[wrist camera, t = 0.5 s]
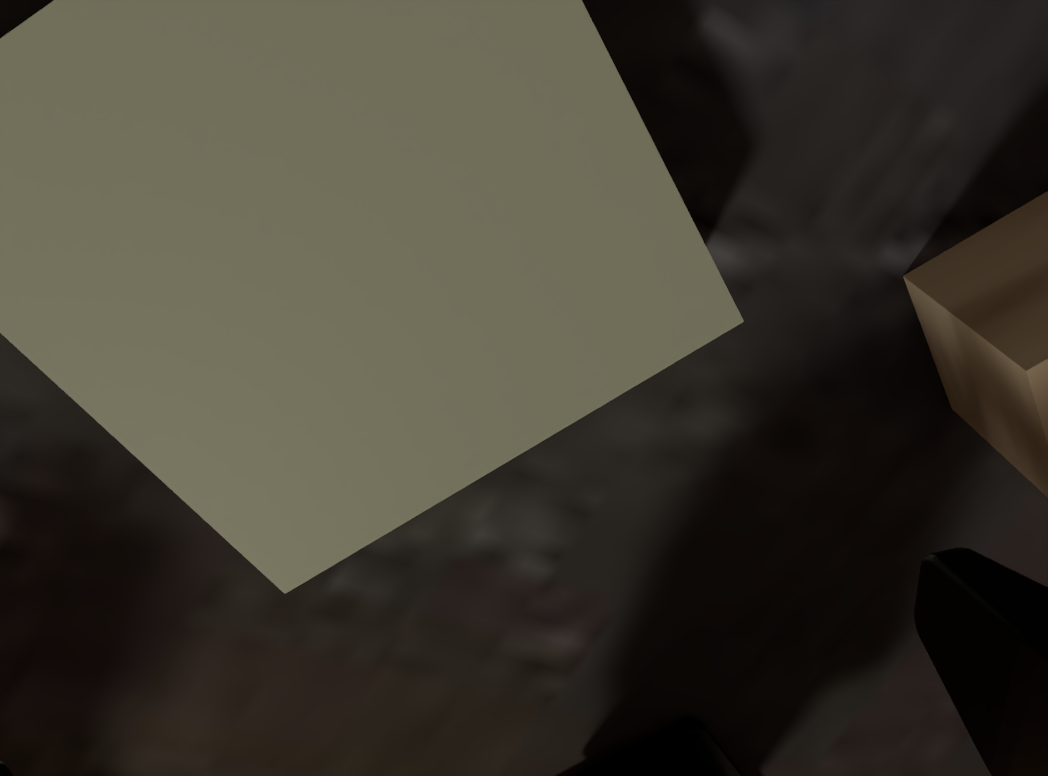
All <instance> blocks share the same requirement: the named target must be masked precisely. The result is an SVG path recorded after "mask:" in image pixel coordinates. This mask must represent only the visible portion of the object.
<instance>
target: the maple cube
mask: <svg viewBox="0 0 1048 776" xmlns="http://www.w3.org/2000/svg"><path fill="white" fill-rule="evenodd" d="M903 278H904V280H905V283H906V286H907V288H908V291H909V294H910V297H911V299H912V302H913V305H914V307H915V310H916V313H917V316H918V318H919V321H920V324H921V326H922V329H923V332H924V335H925V337H926V340H927V343H928V345H929V348H930V351H931V354H932V356H933V359H934V362H935V364H936V367H937V370H938V373H939V375H940V378H941V381H942V383H943V386H944V389H945V392H946V394H947V397H948V400H949V402H950V405H951V408H952V410H953V411H955V412H956V413H957V414H958V415H959V416H960V417H961V418H962V419H963V420H964V421H965V422H967V423H968V424H969V425H970V426H971V427H972V428H973V429H974V430H975V431H976V432H977V433H978V434H980V435H981V436H982V437H983V438H984V439H985V440H986V441H987V442H988V443H989V444H990V445H991V446H993V447H994V448H995V449H996V450H997V451H998V452H999V453H1000V454H1001V455H1002V456H1003V457H1005V458H1006V459H1007V460H1008V461H1009V462H1010V463H1011V464H1012V465H1013V466H1014V467H1015V468H1016V469H1018V470H1019V471H1020V472H1021V473H1022V474H1023V475H1024V476H1025V477H1026V478H1027V479H1028V480H1030V481H1031V482H1032V483H1033V484H1034V485H1035V486H1036V487H1037V488H1038V489H1039V490H1040V491H1041V492H1043V493H1044V494H1045V495H1046V496H1047V497H1048V191H1047V192H1045V193H1044V194H1042V195H1040V196H1039V197H1037V198H1035V199H1034V200H1032V201H1030V202H1028V203H1027V204H1025V205H1023V206H1022V207H1020V208H1018V209H1016V210H1015V211H1013V212H1011V213H1010V214H1008V215H1006V216H1005V217H1003V218H1001V219H999V220H998V221H996V222H994V223H993V224H991V225H989V226H987V227H986V228H984V229H982V230H981V231H979V232H977V233H976V234H974V235H972V236H970V237H969V238H967V239H965V240H964V241H962V242H960V243H958V244H957V245H955V246H953V247H952V248H950V249H948V250H947V251H945V252H943V253H941V254H940V255H938V256H936V257H935V258H933V259H931V260H929V261H928V262H926V263H924V264H923V265H921V266H919V267H918V268H916V269H914V270H912V271H911V272H909V273H907V274H906V275H904V276H903Z"/></svg>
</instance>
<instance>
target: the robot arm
mask: <svg viewBox="0 0 1048 776" xmlns="http://www.w3.org/2000/svg"><path fill="white" fill-rule="evenodd" d="M914 620H915V625H916V629H917V632H918V634H919V637H920V639H921V641H922V643H923V645H924V647H925V649H926V651H927V652H928V654H929V656H930V658H931V660H932V662H933V664H934V666H935V668H936V670H937V672H938V674H939V676H940V678H941V680H942V682H943V684H944V686H945V688H946V689H947V691H948V693H949V695H950V697H951V699H952V701H953V703H954V705H955V707H956V709H957V711H958V713H959V715H960V717H961V719H962V721H963V723H964V725H965V726H966V728H967V730H968V732H969V734H970V736H971V738H972V740H973V742H974V744H975V746H976V748H977V750H978V752H979V753H980V755H981V757H982V759H983V761H984V763H985V764H986V766H987V768H988V770H989V772H990V773H991V775H992V776H1048V587H1047V586H1045V585H1043V584H1041V583H1039V582H1037V581H1035V580H1032V579H1030V578H1028V577H1026V576H1024V575H1022V574H1020V573H1018V572H1016V571H1014V570H1012V569H1010V568H1008V567H1006V566H1004V565H1002V564H1000V563H998V562H996V561H994V560H992V559H990V558H988V557H986V556H984V555H982V554H980V553H978V552H976V551H973V550H971V549H968V548H964V547H958V548H953V549H949V550H944V551H940V552H935V553H930V554H929V555H927V556H926V557H925V558H924V559H923V561H922V563H921V567H920V574H919V581H918V588H917V595H916V602H915V608H914ZM0 776H13V774H12V772H11V771H10V769H9V768H8V766H7V765H6V764H5V763H4V762H2V761H0ZM583 776H744V775H743V774H742V773H741V771H740V770H739V769H738V768H737V766H736V765H735V764H734V762H733V761H732V760H731V759H730V757H729V756H728V755H727V753H726V752H725V751H724V750H723V748H722V747H721V746H720V744H719V743H718V742H717V741H716V739H715V738H714V737H713V735H712V734H711V733H710V732H709V730H708V729H707V728H706V726H705V725H704V724H703V723H702V722H701V721H700V720H698V719H688V720H686V721H683V722H681V723H680V724H678V725H676V726H674V727H672V728H670V729H668V730H667V731H665V732H663V733H661V734H659V735H657V736H655V737H654V738H652V739H650V740H648V741H646V742H644V743H642V744H641V745H639V746H637V747H635V748H633V749H631V750H630V751H628V752H626V753H624V754H622V755H620V756H618V757H617V758H615V759H613V760H611V761H609V762H607V763H605V764H604V765H602V766H600V767H598V768H596V769H594V770H592V771H591V772H589V773H587V774H585V775H583Z"/></svg>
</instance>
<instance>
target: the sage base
mask: <svg viewBox="0 0 1048 776" xmlns="http://www.w3.org/2000/svg"><path fill="white" fill-rule="evenodd" d="M742 322H744V321H743V319H742V317H741V315H740V313H739V311H738V309H737V307H736V305H735V303H734V301H733V299H732V297H731V295H730V293H729V291H728V289H727V287H726V285H725V283H724V281H723V279H722V277H721V275H720V273H719V271H718V269H717V267H716V265H715V263H714V261H713V259H712V257H711V255H710V253H709V251H708V249H707V247H706V245H705V243H704V241H703V240H702V238H701V236H700V234H699V232H698V230H697V228H696V226H695V224H694V222H693V220H692V218H691V216H690V214H689V212H688V210H687V208H686V206H685V204H684V202H683V200H682V198H681V196H680V194H679V192H678V190H677V188H676V186H675V184H674V182H673V180H672V178H671V176H670V174H669V172H668V170H667V168H666V166H665V164H664V162H663V160H662V158H661V156H660V154H659V152H658V150H657V148H656V146H655V144H654V142H653V140H652V138H651V136H650V134H649V132H648V131H647V129H646V127H645V125H644V123H643V121H642V119H641V117H640V115H639V113H638V111H637V109H636V107H635V105H634V103H633V101H632V99H631V97H630V95H629V93H628V91H627V89H626V87H625V85H624V83H623V81H622V79H621V77H620V75H619V73H618V71H617V69H616V67H615V65H614V63H613V61H612V59H611V57H610V55H609V53H608V51H607V49H606V47H605V45H604V43H603V41H602V39H601V37H600V35H599V33H598V31H597V29H596V27H595V25H594V23H593V21H592V20H591V18H590V16H589V14H588V12H587V10H586V8H585V6H584V4H583V2H582V0H54V1H52V2H51V3H49V4H48V5H47V6H45V7H44V8H42V9H41V10H40V11H38V12H37V13H35V14H34V15H33V16H31V17H30V18H28V19H27V20H26V21H24V22H23V23H21V24H20V25H19V26H17V27H16V28H14V29H13V30H12V31H10V32H9V33H7V34H6V35H5V36H3V37H2V38H0V333H1V334H2V335H3V336H4V337H6V338H7V339H8V340H9V341H10V342H11V343H12V344H13V345H14V346H15V347H16V348H18V349H19V350H20V351H21V352H22V353H23V354H24V355H25V356H26V357H27V358H28V359H30V360H31V361H32V362H33V363H34V364H35V365H36V366H37V367H38V368H39V369H40V370H42V371H43V372H44V373H45V374H46V375H47V376H48V377H49V378H50V379H51V380H52V381H54V382H55V383H56V384H57V385H58V386H59V387H60V388H61V389H62V390H63V391H64V392H66V393H67V394H68V395H69V396H70V397H71V398H72V399H73V400H74V401H75V402H76V403H77V404H79V405H80V406H81V407H82V408H83V409H84V410H85V411H86V412H87V413H88V414H89V415H91V416H92V417H93V418H94V419H95V420H96V421H97V422H98V423H99V424H100V425H101V426H103V427H104V428H105V429H106V430H107V431H108V432H109V433H110V434H111V435H112V436H113V437H115V438H116V439H117V440H118V441H119V442H120V443H121V444H122V445H123V446H124V447H125V448H127V449H128V450H129V451H130V452H131V453H132V454H133V455H134V456H135V457H136V458H137V459H139V460H140V461H141V462H142V463H143V464H144V465H145V466H146V467H147V468H148V469H149V470H150V471H152V472H153V473H154V474H155V475H156V476H157V477H158V478H159V479H160V480H161V481H162V482H164V483H165V484H166V485H167V486H168V487H169V488H170V489H171V490H172V491H173V492H174V493H176V494H177V495H178V496H179V497H180V498H181V499H182V500H183V501H184V502H185V503H186V504H188V505H189V506H190V507H191V508H192V509H193V510H194V511H195V512H196V513H197V514H198V515H200V516H201V517H202V518H203V519H204V520H205V521H206V522H207V523H208V524H209V525H210V526H212V527H213V528H214V529H215V530H216V531H217V532H218V533H219V534H220V535H221V536H222V537H223V538H225V539H226V540H227V541H228V542H229V543H230V544H231V545H232V546H233V547H234V548H235V549H237V550H238V551H239V552H240V553H241V554H242V555H243V556H244V557H245V558H246V559H247V560H249V561H250V562H251V563H252V564H253V565H254V566H255V567H256V568H257V569H258V570H259V571H261V572H262V573H263V574H264V575H265V576H266V577H267V578H268V579H269V580H270V581H271V582H273V583H274V584H275V585H276V586H277V587H278V588H279V589H280V590H281V591H282V592H283V593H287V592H289V591H291V590H292V589H294V588H296V587H297V586H299V585H301V584H302V583H304V582H306V581H307V580H309V579H311V578H312V577H314V576H316V575H317V574H319V573H321V572H323V571H324V570H326V569H328V568H329V567H331V566H333V565H334V564H336V563H338V562H339V561H341V560H343V559H344V558H346V557H348V556H350V555H351V554H353V553H355V552H356V551H358V550H360V549H361V548H363V547H365V546H366V545H368V544H370V543H371V542H373V541H375V540H376V539H378V538H380V537H382V536H383V535H385V534H387V533H388V532H390V531H392V530H393V529H395V528H397V527H398V526H400V525H402V524H403V523H405V522H407V521H408V520H410V519H412V518H414V517H415V516H417V515H419V514H420V513H422V512H424V511H425V510H427V509H429V508H430V507H432V506H434V505H435V504H437V503H439V502H440V501H442V500H444V499H446V498H447V497H449V496H451V495H452V494H454V493H456V492H457V491H459V490H461V489H462V488H464V487H466V486H467V485H469V484H471V483H473V482H474V481H476V480H478V479H479V478H481V477H483V476H484V475H486V474H488V473H489V472H491V471H493V470H494V469H496V468H498V467H499V466H501V465H503V464H505V463H506V462H508V461H510V460H511V459H513V458H515V457H516V456H518V455H520V454H521V453H523V452H525V451H526V450H528V449H530V448H531V447H533V446H535V445H537V444H538V443H540V442H542V441H543V440H545V439H547V438H548V437H550V436H552V435H553V434H555V433H557V432H558V431H560V430H562V429H563V428H565V427H567V426H569V425H570V424H572V423H574V422H575V421H577V420H579V419H580V418H582V417H584V416H585V415H587V414H589V413H590V412H592V411H594V410H596V409H597V408H599V407H601V406H602V405H604V404H606V403H607V402H609V401H611V400H612V399H614V398H616V397H617V396H619V395H621V394H622V393H624V392H626V391H628V390H629V389H631V388H633V387H634V386H636V385H638V384H639V383H641V382H643V381H644V380H646V379H648V378H649V377H651V376H653V375H654V374H656V373H658V372H660V371H661V370H663V369H665V368H666V367H668V366H670V365H671V364H673V363H675V362H676V361H678V360H680V359H681V358H683V357H685V356H686V355H688V354H690V353H692V352H693V351H695V350H697V349H698V348H700V347H702V346H703V345H705V344H707V343H708V342H710V341H712V340H713V339H715V338H717V337H718V336H720V335H722V334H724V333H725V332H727V331H729V330H730V329H732V328H734V327H735V326H737V325H739V324H740V323H742Z"/></svg>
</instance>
